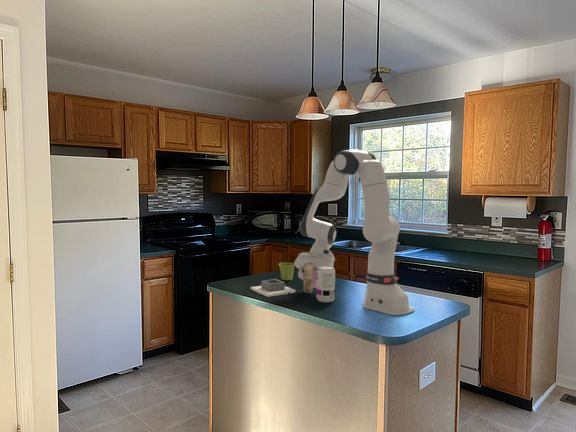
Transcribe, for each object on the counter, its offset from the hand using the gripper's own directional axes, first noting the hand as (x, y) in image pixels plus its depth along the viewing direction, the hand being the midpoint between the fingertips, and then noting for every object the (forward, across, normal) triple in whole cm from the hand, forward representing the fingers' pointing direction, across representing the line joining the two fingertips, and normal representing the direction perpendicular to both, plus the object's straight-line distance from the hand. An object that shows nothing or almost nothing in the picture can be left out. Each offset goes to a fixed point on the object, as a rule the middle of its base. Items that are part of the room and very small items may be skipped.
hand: (307, 276), depth 203 cm
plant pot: (-6, -24, +18) cm, 30 cm away
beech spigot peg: (+5, 0, +6) cm, 8 cm away
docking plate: (+12, -14, -1) cm, 19 cm away
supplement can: (+11, +14, +1) cm, 18 cm away
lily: (-2, -5, +14) cm, 15 cm away
